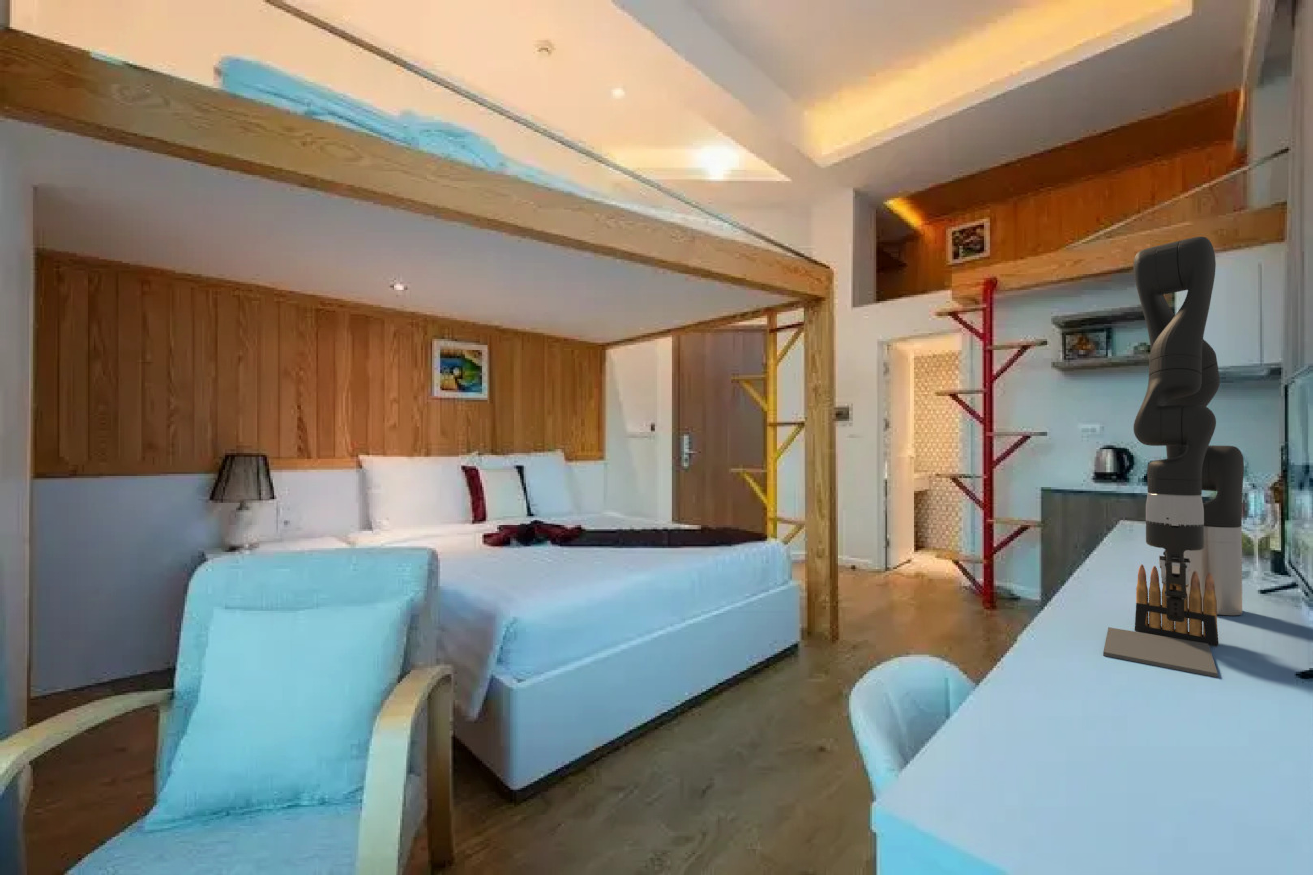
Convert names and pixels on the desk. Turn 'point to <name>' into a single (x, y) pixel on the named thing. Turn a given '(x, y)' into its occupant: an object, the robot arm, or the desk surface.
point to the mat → (1160, 651)
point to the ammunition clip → (1193, 613)
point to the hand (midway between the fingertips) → (1174, 615)
